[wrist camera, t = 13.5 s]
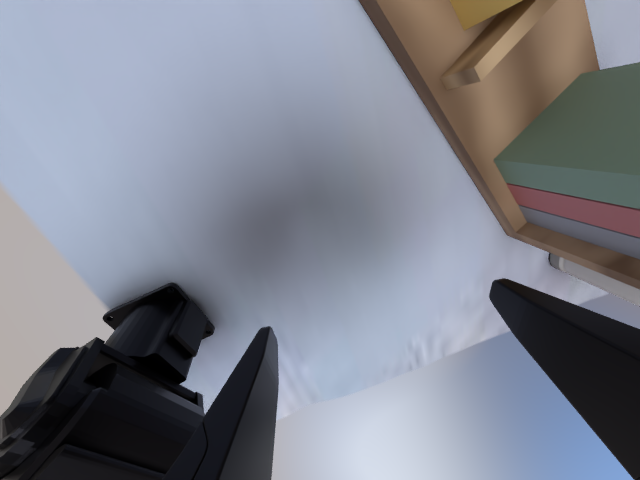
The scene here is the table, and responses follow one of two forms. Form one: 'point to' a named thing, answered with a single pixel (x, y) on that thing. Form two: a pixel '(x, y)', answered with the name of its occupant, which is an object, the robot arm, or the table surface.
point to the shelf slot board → (498, 94)
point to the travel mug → (597, 279)
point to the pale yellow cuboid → (479, 10)
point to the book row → (583, 161)
